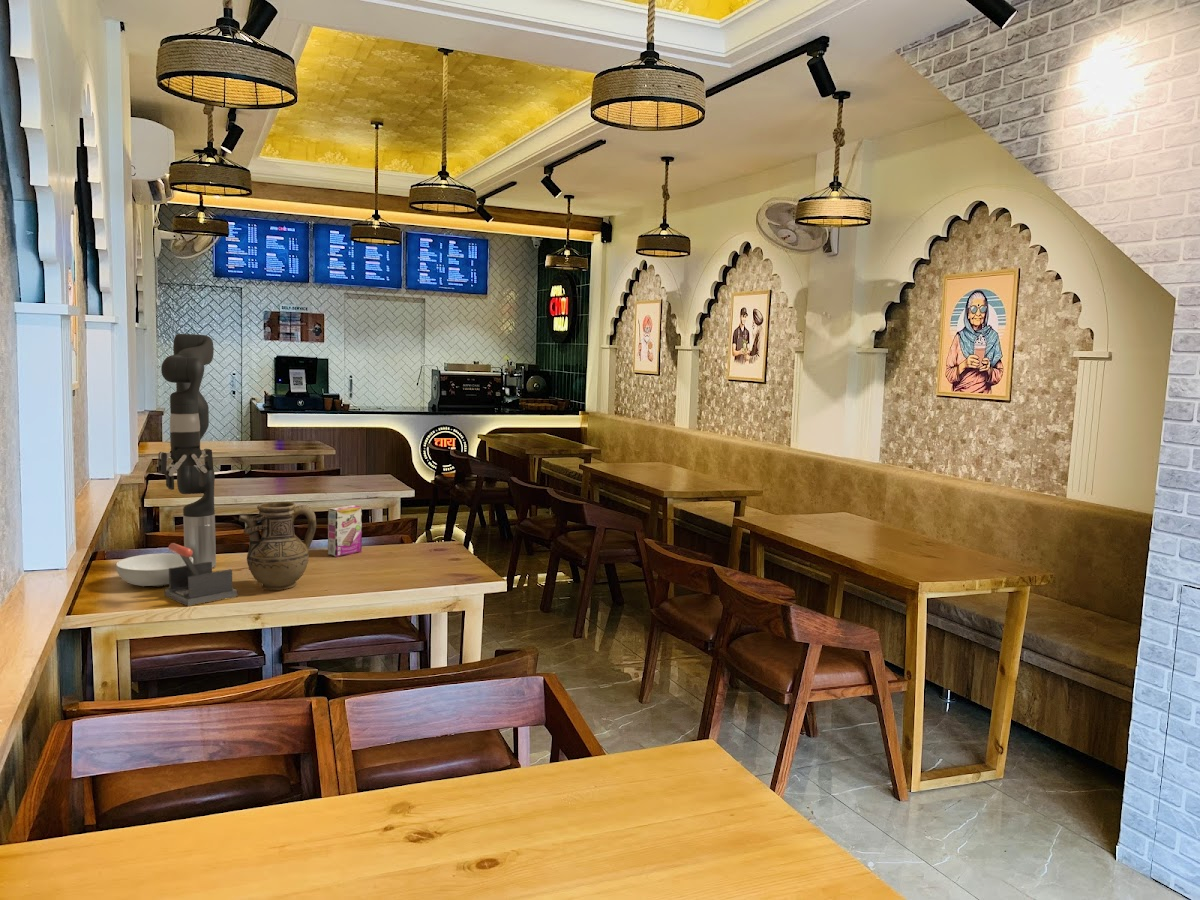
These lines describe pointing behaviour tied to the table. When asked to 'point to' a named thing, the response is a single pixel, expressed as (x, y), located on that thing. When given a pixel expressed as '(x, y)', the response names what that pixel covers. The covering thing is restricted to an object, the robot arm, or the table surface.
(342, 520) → the candy bar box
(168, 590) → the switch box
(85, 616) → the table surface
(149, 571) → the serving bowl
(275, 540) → the decorative pitcher
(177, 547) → the switch lever
